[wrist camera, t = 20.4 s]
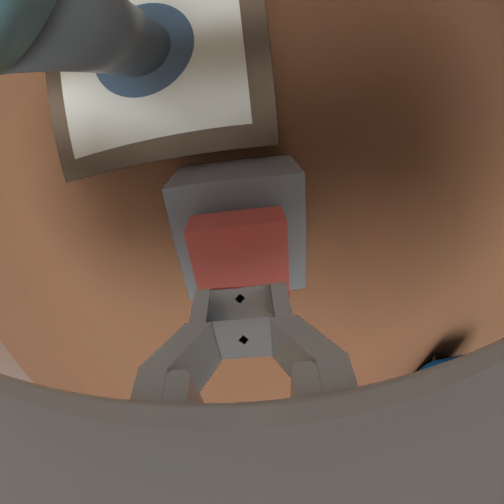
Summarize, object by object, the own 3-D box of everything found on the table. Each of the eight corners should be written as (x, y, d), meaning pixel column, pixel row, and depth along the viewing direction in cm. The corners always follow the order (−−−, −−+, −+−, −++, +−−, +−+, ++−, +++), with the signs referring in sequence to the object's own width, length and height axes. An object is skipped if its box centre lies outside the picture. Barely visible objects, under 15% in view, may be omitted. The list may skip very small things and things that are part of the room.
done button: (196, 198, 14) (183, 232, 11) (275, 190, 14) (287, 221, 11) (209, 264, 16) (203, 309, 13) (279, 257, 16) (289, 301, 13)
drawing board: (52, 4, 8) (41, 1, 7) (254, -53, 8) (255, -62, 7) (73, 178, 15) (63, 184, 14) (276, 142, 15) (279, 146, 14)
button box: (178, 167, 15) (161, 189, 12) (290, 154, 15) (305, 173, 12) (197, 260, 19) (189, 299, 15) (293, 250, 19) (305, 288, 15)
